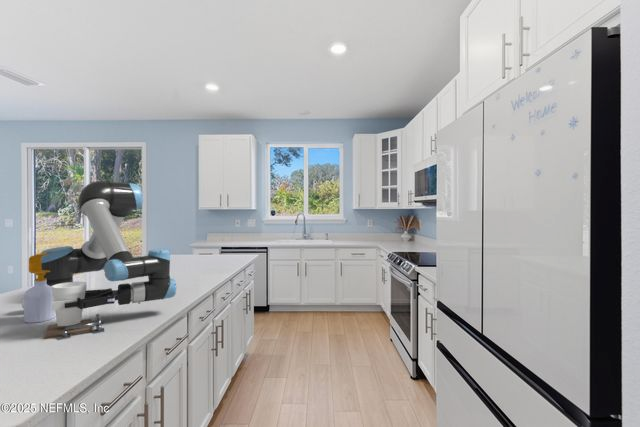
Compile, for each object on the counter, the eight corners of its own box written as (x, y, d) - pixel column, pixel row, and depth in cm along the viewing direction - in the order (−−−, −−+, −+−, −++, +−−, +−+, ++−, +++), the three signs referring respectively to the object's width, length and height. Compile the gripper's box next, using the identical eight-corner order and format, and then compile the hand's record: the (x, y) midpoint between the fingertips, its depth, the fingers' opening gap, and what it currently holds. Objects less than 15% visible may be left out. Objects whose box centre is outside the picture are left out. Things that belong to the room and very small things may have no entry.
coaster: (48, 327, 111) (48, 325, 111) (90, 321, 118) (90, 318, 118) (44, 339, 101) (44, 336, 101) (91, 331, 108) (91, 328, 108)
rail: (60, 327, 111) (60, 318, 111) (102, 320, 118) (102, 312, 118) (58, 339, 101) (58, 329, 101) (104, 331, 108) (104, 322, 108)
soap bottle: (37, 324, 114) (37, 255, 114) (17, 322, 116) (17, 254, 116) (62, 316, 123) (62, 251, 123) (43, 314, 125) (43, 251, 125)
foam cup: (47, 329, 103) (47, 289, 103) (55, 320, 111) (55, 283, 111) (83, 325, 107) (83, 286, 107) (88, 316, 116) (88, 280, 116)
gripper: (134, 310, 111) (49, 323, 98) (127, 296, 129) (54, 306, 116) (134, 289, 111) (49, 299, 98) (127, 278, 129) (55, 285, 116)
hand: (52, 302), depth 107 cm, fingers closed on foam cup, 9 cm apart
